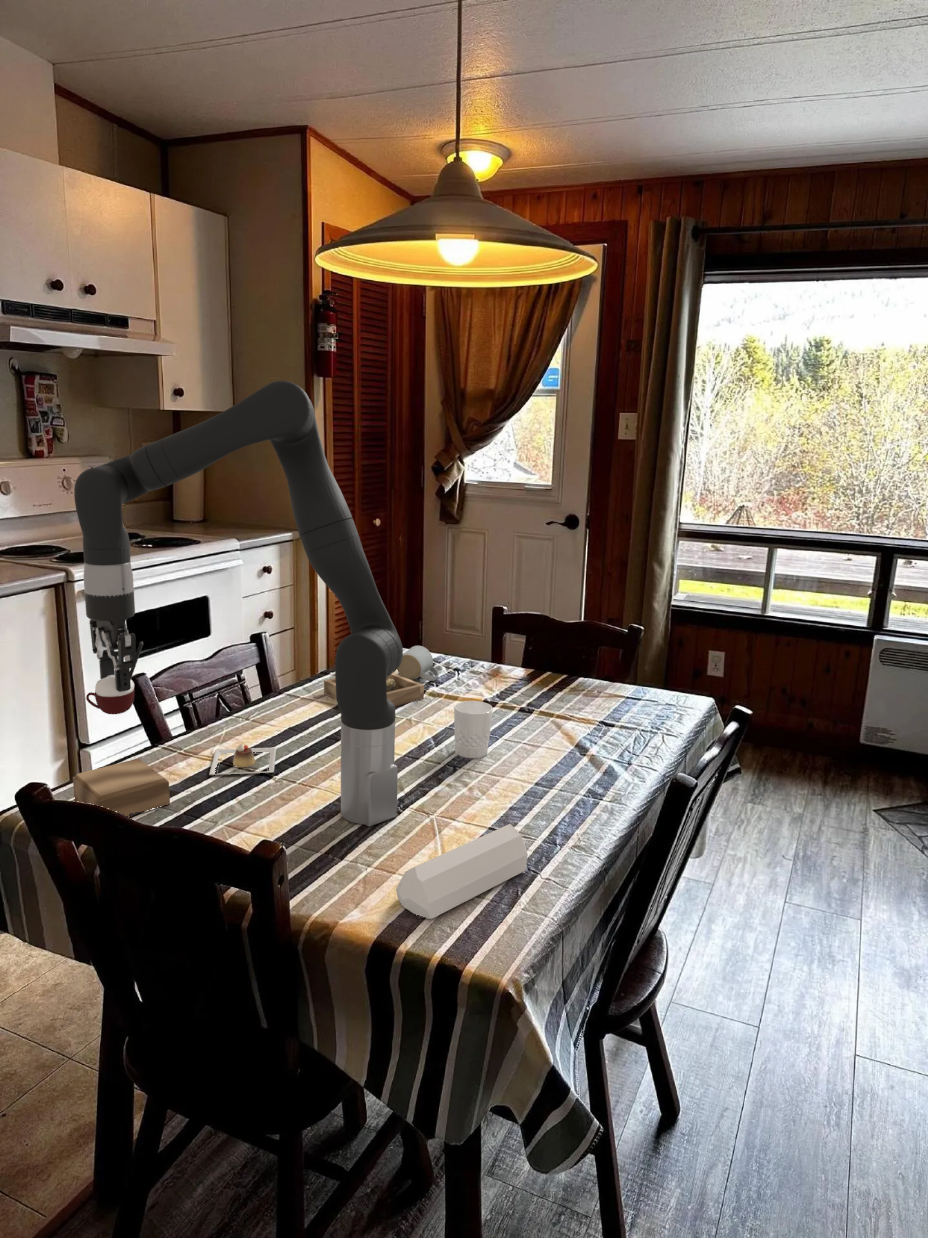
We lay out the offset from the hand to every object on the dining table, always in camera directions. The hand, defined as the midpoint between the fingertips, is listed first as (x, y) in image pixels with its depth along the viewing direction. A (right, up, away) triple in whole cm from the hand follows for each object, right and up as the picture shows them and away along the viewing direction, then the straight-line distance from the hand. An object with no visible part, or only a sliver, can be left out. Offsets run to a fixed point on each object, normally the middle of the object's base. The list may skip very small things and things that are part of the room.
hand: (115, 684), depth 143 cm
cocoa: (0, -5, +1) cm, 5 cm away
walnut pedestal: (-1, -21, +5) cm, 22 cm away
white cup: (+61, -17, +33) cm, 71 cm away
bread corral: (+37, -8, +64) cm, 74 cm away
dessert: (+16, -18, +23) cm, 33 cm away
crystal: (+59, -29, -16) cm, 68 cm away
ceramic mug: (+47, -5, +80) cm, 93 cm away
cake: (+38, -8, +67) cm, 77 cm away
